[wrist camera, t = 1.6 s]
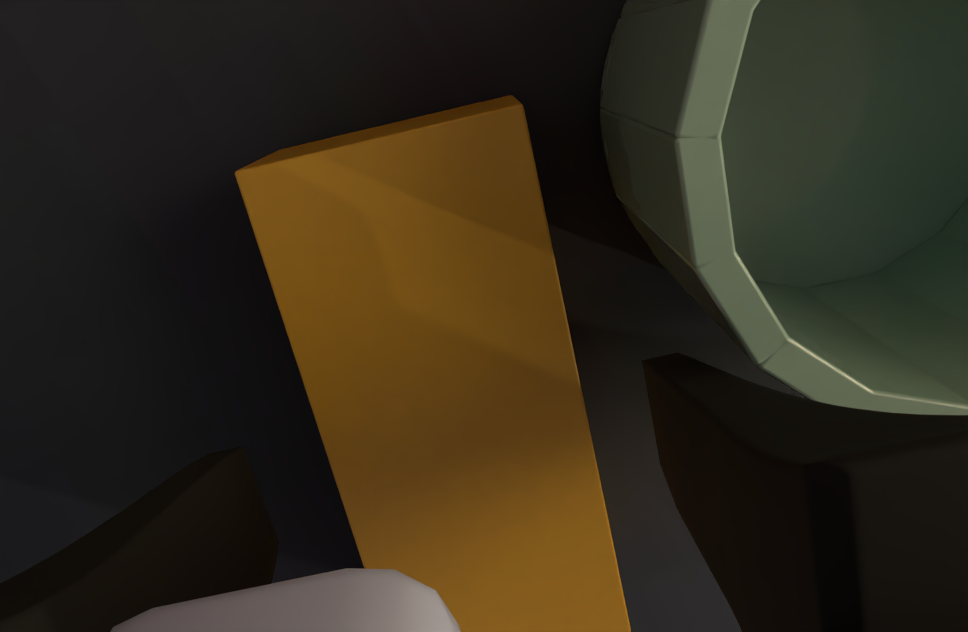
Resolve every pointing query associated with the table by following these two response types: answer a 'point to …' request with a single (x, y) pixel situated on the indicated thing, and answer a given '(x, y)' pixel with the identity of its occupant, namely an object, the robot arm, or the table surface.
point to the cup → (806, 183)
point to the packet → (443, 363)
